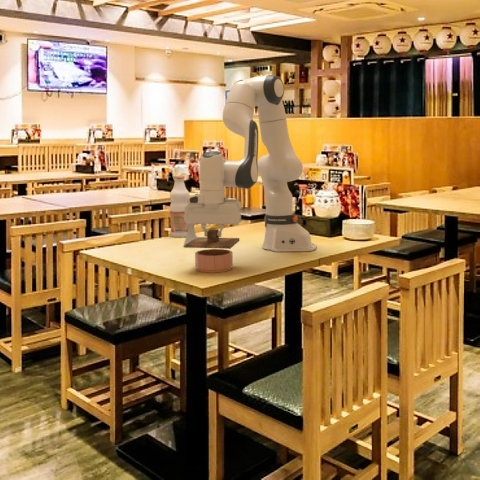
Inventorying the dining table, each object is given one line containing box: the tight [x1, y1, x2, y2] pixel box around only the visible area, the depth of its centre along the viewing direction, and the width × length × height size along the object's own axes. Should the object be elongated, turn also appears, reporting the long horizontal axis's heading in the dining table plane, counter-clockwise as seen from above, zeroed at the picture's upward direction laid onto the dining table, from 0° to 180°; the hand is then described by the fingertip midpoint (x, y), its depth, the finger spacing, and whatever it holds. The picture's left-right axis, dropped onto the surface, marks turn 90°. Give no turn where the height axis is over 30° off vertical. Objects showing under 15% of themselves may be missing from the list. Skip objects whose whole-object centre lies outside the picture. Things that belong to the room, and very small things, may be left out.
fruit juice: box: [169, 175, 191, 238], centre depth 305 cm, size 9×9×28 cm
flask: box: [183, 224, 198, 248], centre depth 280 cm, size 7×7×10 cm
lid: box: [185, 228, 240, 250], centre depth 234 cm, size 16×16×5 cm
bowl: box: [194, 248, 234, 274], centre depth 235 cm, size 13×13×6 cm
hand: (213, 236), depth 234 cm, fingers closed on lid, 3 cm apart
